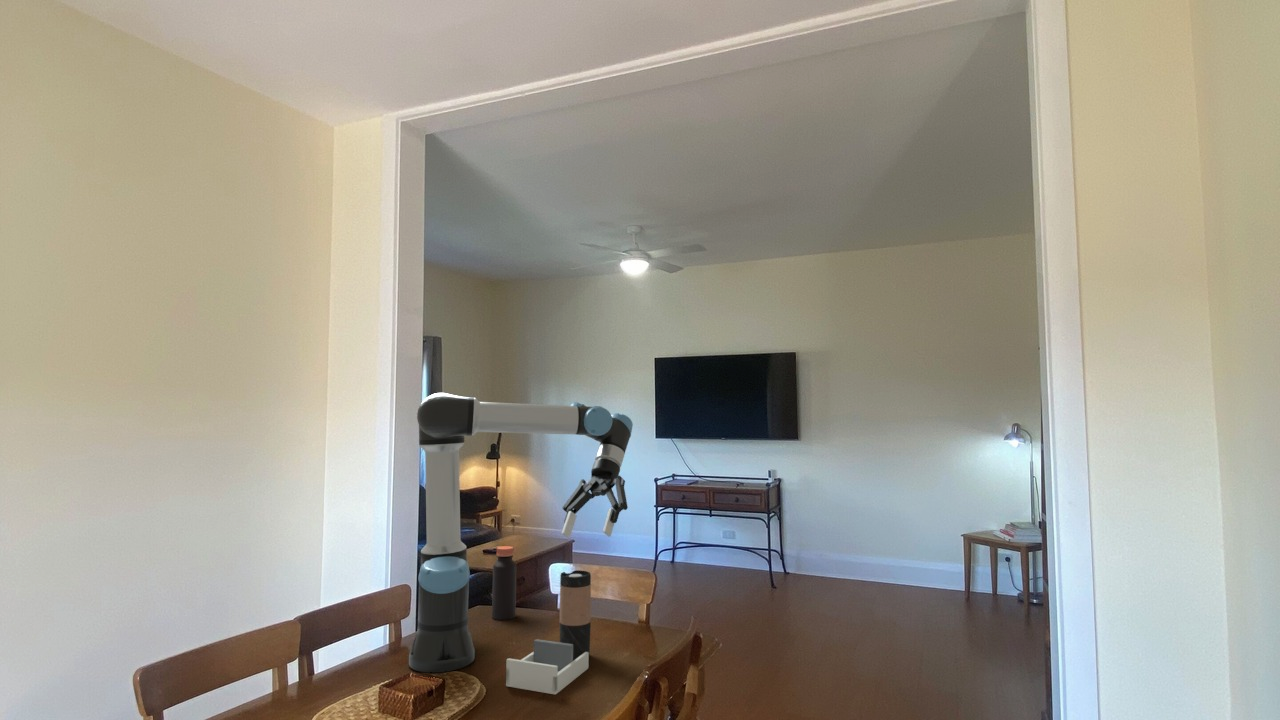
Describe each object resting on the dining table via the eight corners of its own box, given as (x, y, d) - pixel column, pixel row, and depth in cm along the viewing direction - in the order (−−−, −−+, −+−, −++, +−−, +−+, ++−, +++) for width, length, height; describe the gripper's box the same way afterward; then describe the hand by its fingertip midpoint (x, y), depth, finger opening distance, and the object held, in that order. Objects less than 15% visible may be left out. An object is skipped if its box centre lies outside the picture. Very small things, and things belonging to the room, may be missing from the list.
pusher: (533, 667, 152) (533, 640, 152) (536, 665, 153) (537, 638, 154) (570, 673, 148) (570, 645, 149) (573, 671, 150) (573, 643, 150)
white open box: (506, 686, 144) (506, 659, 144) (542, 661, 158) (543, 637, 159) (555, 694, 139) (555, 667, 140) (588, 668, 154) (588, 643, 154)
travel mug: (585, 664, 156) (586, 578, 158) (554, 662, 158) (555, 576, 160) (594, 653, 164) (594, 570, 166) (564, 651, 165) (565, 569, 167)
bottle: (487, 616, 194) (489, 547, 196) (507, 612, 198) (509, 544, 200) (499, 622, 189) (500, 550, 191) (519, 617, 193) (521, 547, 195)
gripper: (651, 467, 178) (632, 540, 165) (580, 475, 192) (557, 542, 179) (637, 452, 174) (616, 525, 161) (565, 461, 187) (540, 529, 174)
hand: (585, 534), depth 170 cm, fingers open, 13 cm apart
